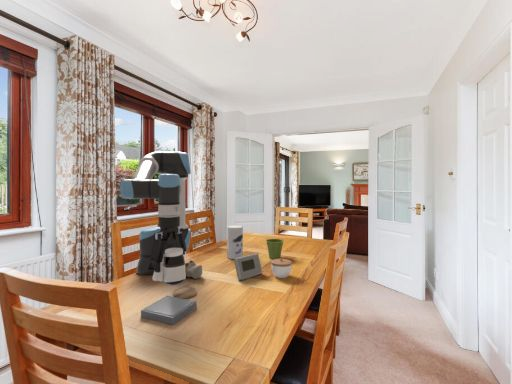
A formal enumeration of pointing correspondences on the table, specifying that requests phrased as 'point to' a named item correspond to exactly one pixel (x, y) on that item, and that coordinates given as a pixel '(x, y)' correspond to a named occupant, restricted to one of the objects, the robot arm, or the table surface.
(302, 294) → the table surface
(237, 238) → the container
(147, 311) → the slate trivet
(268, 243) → the plant pot
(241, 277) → the digital clock
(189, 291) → the oak coaster
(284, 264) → the lidded jar
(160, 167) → the robot arm
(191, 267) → the ceramic sculpture
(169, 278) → the spread jar
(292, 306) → the table surface
